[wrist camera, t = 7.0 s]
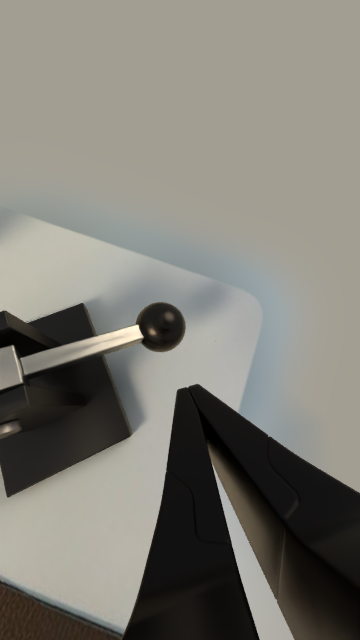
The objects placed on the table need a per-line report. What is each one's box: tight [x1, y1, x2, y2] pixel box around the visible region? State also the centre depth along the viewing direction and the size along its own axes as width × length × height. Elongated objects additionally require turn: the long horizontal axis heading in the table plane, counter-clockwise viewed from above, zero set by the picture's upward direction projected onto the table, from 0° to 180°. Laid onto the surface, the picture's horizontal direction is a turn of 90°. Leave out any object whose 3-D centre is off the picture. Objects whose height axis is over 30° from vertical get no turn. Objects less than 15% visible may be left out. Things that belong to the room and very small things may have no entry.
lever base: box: [0, 303, 133, 497], centre depth 15 cm, size 9×12×10 cm
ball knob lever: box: [0, 302, 186, 395], centre depth 15 cm, size 13×4×4 cm, turn 115°
